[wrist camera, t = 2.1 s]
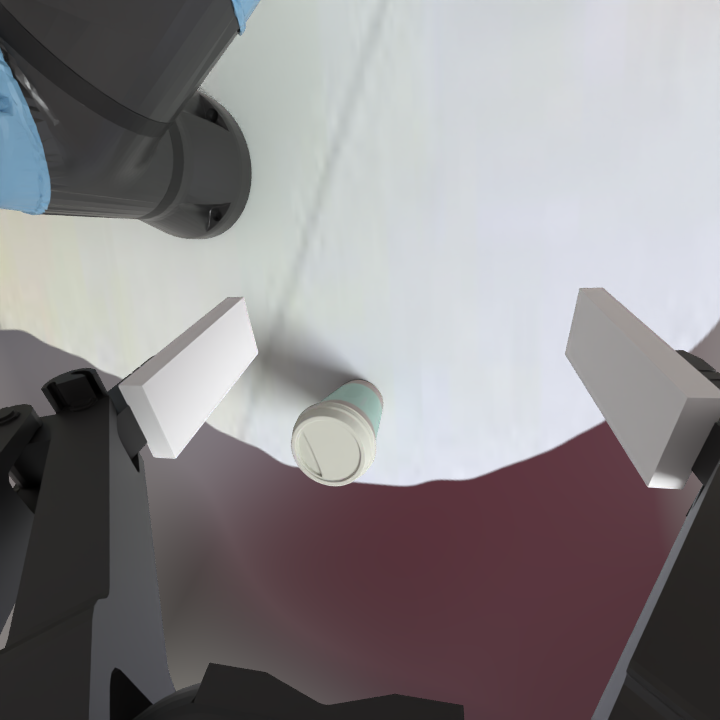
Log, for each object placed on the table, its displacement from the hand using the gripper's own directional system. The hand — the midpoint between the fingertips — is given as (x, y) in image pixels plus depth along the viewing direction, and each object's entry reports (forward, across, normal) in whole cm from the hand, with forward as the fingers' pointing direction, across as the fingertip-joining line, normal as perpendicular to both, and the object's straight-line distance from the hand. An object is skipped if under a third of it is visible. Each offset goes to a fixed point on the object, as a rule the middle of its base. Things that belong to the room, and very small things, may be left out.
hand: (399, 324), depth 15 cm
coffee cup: (+23, -7, -21) cm, 32 cm away
